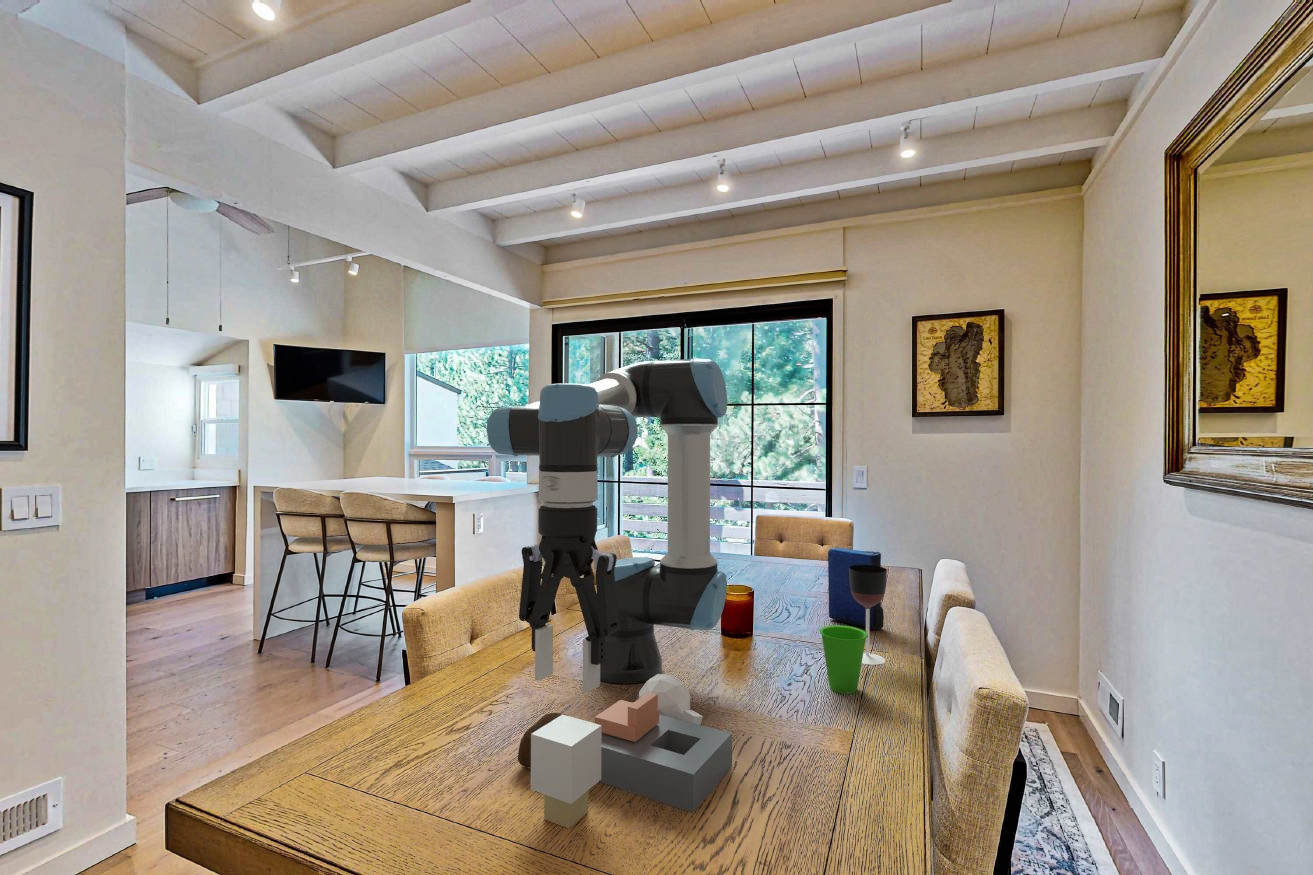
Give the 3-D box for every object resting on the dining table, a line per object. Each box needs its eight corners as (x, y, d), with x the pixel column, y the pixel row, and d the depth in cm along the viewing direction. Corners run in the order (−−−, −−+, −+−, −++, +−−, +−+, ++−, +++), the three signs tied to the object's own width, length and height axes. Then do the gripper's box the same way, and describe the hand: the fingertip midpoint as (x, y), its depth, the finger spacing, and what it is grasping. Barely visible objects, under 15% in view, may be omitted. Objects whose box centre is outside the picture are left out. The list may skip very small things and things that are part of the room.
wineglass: (847, 662, 134) (847, 570, 134) (850, 649, 142) (850, 563, 142) (886, 667, 131) (886, 573, 131) (887, 654, 139) (887, 566, 139)
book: (886, 628, 158) (886, 551, 158) (875, 633, 155) (875, 553, 155) (836, 616, 169) (836, 544, 169) (826, 620, 165) (826, 546, 165)
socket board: (580, 775, 88) (580, 740, 88) (628, 737, 99) (628, 706, 99) (693, 813, 79) (693, 774, 79) (731, 766, 91) (732, 732, 91)
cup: (870, 699, 114) (871, 640, 114) (820, 695, 116) (820, 637, 116) (864, 681, 123) (864, 626, 123) (818, 677, 125) (818, 623, 125)
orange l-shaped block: (594, 730, 91) (594, 699, 91) (620, 712, 97) (620, 683, 97) (635, 741, 87) (635, 710, 87) (659, 722, 93) (659, 692, 93)
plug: (530, 820, 78) (531, 733, 78) (562, 795, 83) (562, 714, 83) (571, 837, 74) (571, 746, 74) (601, 809, 80) (601, 725, 80)
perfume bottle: (620, 717, 103) (670, 751, 94) (637, 662, 104) (688, 692, 95) (653, 716, 109) (704, 749, 100) (669, 665, 110) (721, 693, 101)
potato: (508, 762, 92) (508, 715, 92) (569, 741, 98) (570, 697, 98) (528, 782, 86) (529, 733, 86) (592, 759, 92) (592, 713, 93)
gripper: (490, 502, 81) (489, 677, 80) (616, 511, 71) (615, 710, 71) (528, 498, 87) (527, 659, 87) (649, 505, 77) (648, 687, 77)
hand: (567, 682), depth 79 cm, fingers open, 7 cm apart
